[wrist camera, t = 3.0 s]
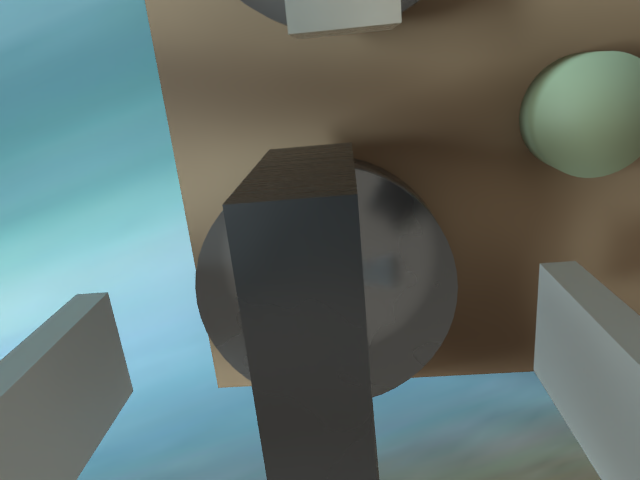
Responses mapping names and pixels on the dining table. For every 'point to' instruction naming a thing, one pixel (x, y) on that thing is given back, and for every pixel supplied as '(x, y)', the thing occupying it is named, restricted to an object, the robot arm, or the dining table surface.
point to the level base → (433, 138)
